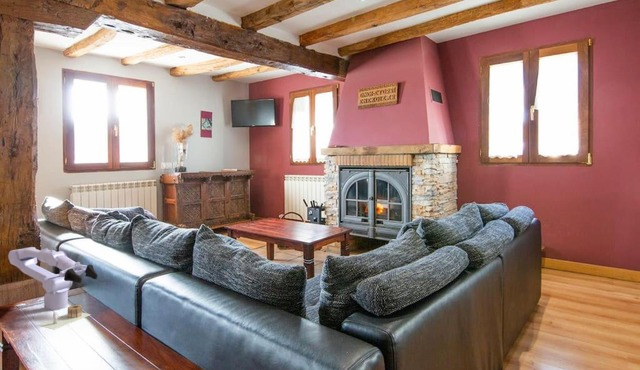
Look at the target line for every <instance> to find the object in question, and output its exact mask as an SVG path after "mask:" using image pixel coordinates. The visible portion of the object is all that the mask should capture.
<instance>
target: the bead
mask: <svg viewBox="0 0 640 370" xmlns="http://www.w3.org/2000/svg"><path fill="white" fill-rule="evenodd" d="M82 313H83V306H82V305H81V304H75V305H71V306H70V305H69V306H67V314H68V318H76V317H77V318H78V317H80V316H82Z"/></svg>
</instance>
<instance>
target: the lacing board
mask: <svg viewBox="0 0 640 370" xmlns="http://www.w3.org/2000/svg"><path fill="white" fill-rule="evenodd" d="M91 315H92V314H90V313H86V312H82V316H80V317H78V318H77V317H76V318H68V313H66V314H63V315H60V316H58V313H57V312H56V311H55V312H53V314H52V316H53V317H52V319H49V320H47V321H44V322H42V323H38V324H37V326H38V327H42V328H46V329H50V330H55V331H56V329H60V328H62V327H64V326H66V325H69V324H72V323H75V322H77V321H79V320H82V319H84V318H86V317H89V316H91Z"/></svg>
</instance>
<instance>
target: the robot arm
mask: <svg viewBox="0 0 640 370" xmlns="http://www.w3.org/2000/svg"><path fill="white" fill-rule="evenodd" d="M8 261H9V263H10V265H12V266H15V267H17V268H18V269H19V270H20V271H21V273H23V274H25V275H26V276H29V277H30V278H33V279H34V280H37V281H38V282H41V283H42V284H41V286H42V289H44V290H45V293H44V298H43V308H44V309H49V310H51V311H59V310H63V309H65V308H68V307H69V306H68V305H69V304H68V301H69V298H68V295H69V294H68V293H69V290H70V288H71V287H72V286H73V282H74V283H78V284H81V283H82V277H81V275H82V274H83V273H85V277H87V278H91V279H93V280H97V279H98V273H96V271H95V269H94V265H92V264H88V265H87V264H86V265H85V264H81V262H80V261H77V262H76V261H75V260H73V259H71V258H70V257H68V255H67V253H66V252H65V251H64V250H59V251H56V250H55V249H52V250H50V249H49V248H48V247H47V248H43V249H37V248H36V247H35V246H34V247H33V246H30V247H29V246H28V247H23V248H19V249H18V248H17V249H12V250H10V251H9V252H8ZM38 261H40V262H42V263H47V264H48V266H50V267H51V266H52V267H56V268H58V269H59V273H57V274H56V273H53V272H51V271H49V270H47V269H45V268H43V267H41V266H39V265H37V264H38Z"/></svg>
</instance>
